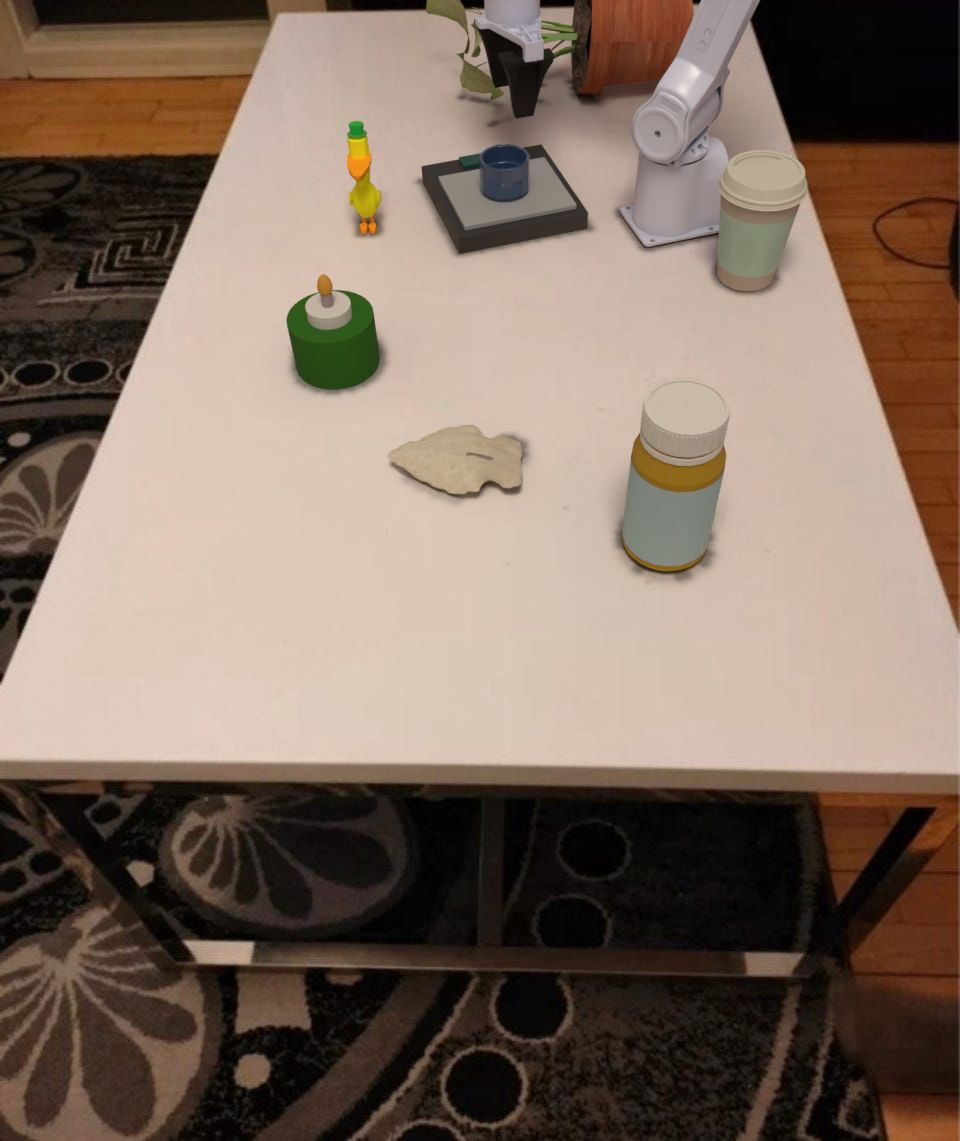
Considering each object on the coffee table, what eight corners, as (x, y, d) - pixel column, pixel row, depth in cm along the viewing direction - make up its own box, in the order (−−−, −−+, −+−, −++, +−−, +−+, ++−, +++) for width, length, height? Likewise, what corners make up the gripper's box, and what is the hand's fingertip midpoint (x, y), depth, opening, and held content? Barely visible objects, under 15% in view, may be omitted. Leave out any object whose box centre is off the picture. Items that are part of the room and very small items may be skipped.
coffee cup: (791, 259, 109) (816, 153, 99) (779, 306, 104) (804, 198, 94) (712, 247, 111) (729, 141, 101) (696, 291, 106) (713, 185, 96)
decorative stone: (520, 509, 88) (524, 484, 86) (383, 497, 87) (384, 471, 85) (519, 446, 93) (523, 420, 91) (390, 434, 93) (391, 408, 90)
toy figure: (382, 246, 113) (369, 142, 103) (350, 247, 113) (335, 144, 103) (385, 213, 117) (373, 111, 108) (354, 214, 117) (340, 112, 108)
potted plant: (659, 70, 141) (408, 64, 138) (682, -49, 129) (408, -57, 126) (680, 131, 132) (411, 127, 129) (707, 9, 120) (411, 2, 117)
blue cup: (520, 173, 117) (520, 140, 114) (535, 198, 113) (536, 164, 110) (474, 182, 116) (473, 149, 113) (488, 207, 112) (488, 173, 109)
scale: (541, 159, 124) (541, 139, 122) (587, 228, 114) (588, 207, 112) (422, 181, 121) (421, 161, 119) (459, 253, 111) (458, 232, 109)
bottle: (615, 516, 86) (629, 378, 74) (696, 509, 86) (723, 370, 74) (629, 579, 81) (647, 443, 70) (715, 572, 82) (747, 435, 70)
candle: (314, 399, 97) (296, 312, 89) (284, 352, 101) (264, 265, 94) (393, 372, 99) (382, 284, 91) (360, 326, 104) (347, 240, 96)
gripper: (455, -52, 107) (461, 78, 118) (496, 1, 98) (498, 136, 109) (518, -61, 108) (518, 68, 119) (564, -10, 99) (560, 125, 110)
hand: (513, 100), depth 114 cm, fingers open, 7 cm apart
